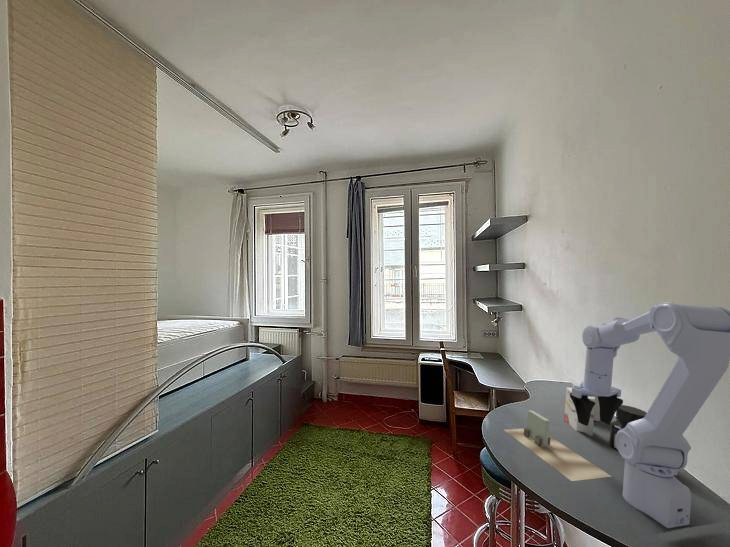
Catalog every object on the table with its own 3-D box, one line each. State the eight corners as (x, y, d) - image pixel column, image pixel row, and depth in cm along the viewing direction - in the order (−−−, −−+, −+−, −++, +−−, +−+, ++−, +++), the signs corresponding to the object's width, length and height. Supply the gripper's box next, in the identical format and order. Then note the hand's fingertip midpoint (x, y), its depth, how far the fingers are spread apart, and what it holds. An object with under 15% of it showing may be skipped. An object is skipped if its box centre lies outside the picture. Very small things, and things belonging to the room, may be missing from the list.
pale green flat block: (547, 445, 81) (549, 420, 81) (543, 446, 81) (545, 420, 81) (530, 434, 87) (532, 410, 87) (526, 434, 86) (528, 410, 86)
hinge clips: (550, 445, 82) (550, 437, 82) (539, 445, 81) (539, 438, 81) (534, 434, 87) (534, 427, 87) (523, 434, 86) (524, 428, 86)
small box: (597, 416, 106) (600, 387, 106) (600, 422, 101) (602, 391, 101) (570, 409, 110) (573, 381, 110) (571, 414, 106) (574, 385, 106)
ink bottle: (615, 456, 81) (618, 412, 81) (601, 440, 89) (604, 400, 89) (660, 466, 77) (664, 421, 77) (642, 449, 86) (645, 408, 86)
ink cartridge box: (562, 421, 100) (566, 377, 100) (579, 423, 99) (582, 380, 99) (575, 434, 91) (579, 386, 91) (593, 437, 90) (597, 389, 90)
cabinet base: (611, 480, 70) (612, 476, 70) (571, 485, 67) (571, 481, 67) (536, 431, 91) (536, 427, 91) (503, 433, 88) (503, 429, 88)
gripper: (603, 367, 84) (599, 415, 84) (563, 367, 81) (559, 416, 81) (631, 376, 77) (627, 427, 77) (588, 376, 74) (583, 430, 74)
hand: (594, 423), depth 78 cm, fingers open, 7 cm apart
